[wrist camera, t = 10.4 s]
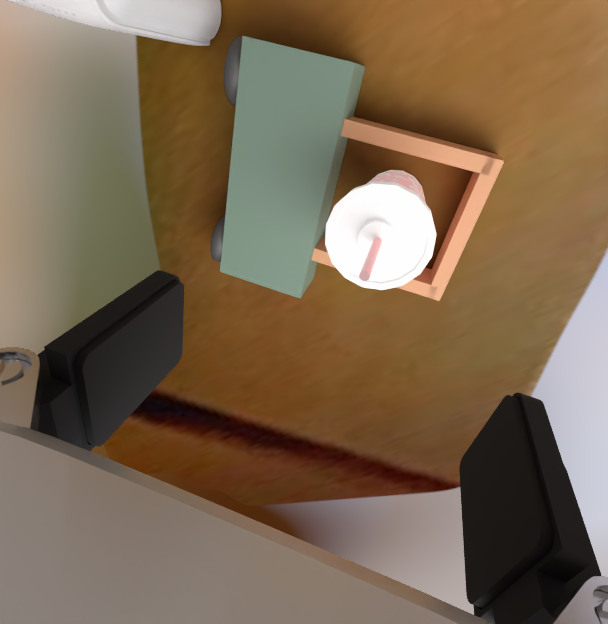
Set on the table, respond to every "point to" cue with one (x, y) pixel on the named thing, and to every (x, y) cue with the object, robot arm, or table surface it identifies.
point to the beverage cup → (382, 232)
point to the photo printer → (141, 17)
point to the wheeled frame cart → (314, 167)
